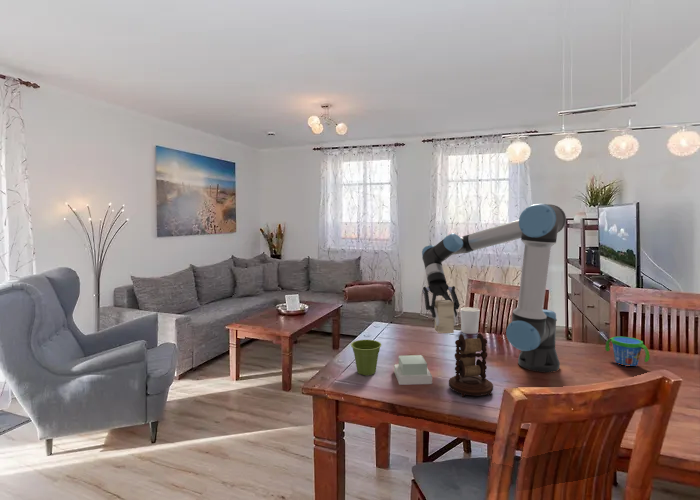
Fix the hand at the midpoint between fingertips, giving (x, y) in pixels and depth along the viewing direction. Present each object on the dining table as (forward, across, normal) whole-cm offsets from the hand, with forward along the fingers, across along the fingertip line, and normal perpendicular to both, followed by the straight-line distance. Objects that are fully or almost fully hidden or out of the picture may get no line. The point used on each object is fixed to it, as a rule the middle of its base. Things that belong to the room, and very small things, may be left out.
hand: (446, 323), depth 154 cm
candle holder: (-23, -27, -50) cm, 61 cm away
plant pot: (+13, +32, -13) cm, 37 cm away
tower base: (+17, +15, -9) cm, 25 cm away
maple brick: (0, 0, -5) cm, 5 cm away
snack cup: (+13, -74, -15) cm, 76 cm away
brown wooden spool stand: (+26, -3, -1) cm, 26 cm away
